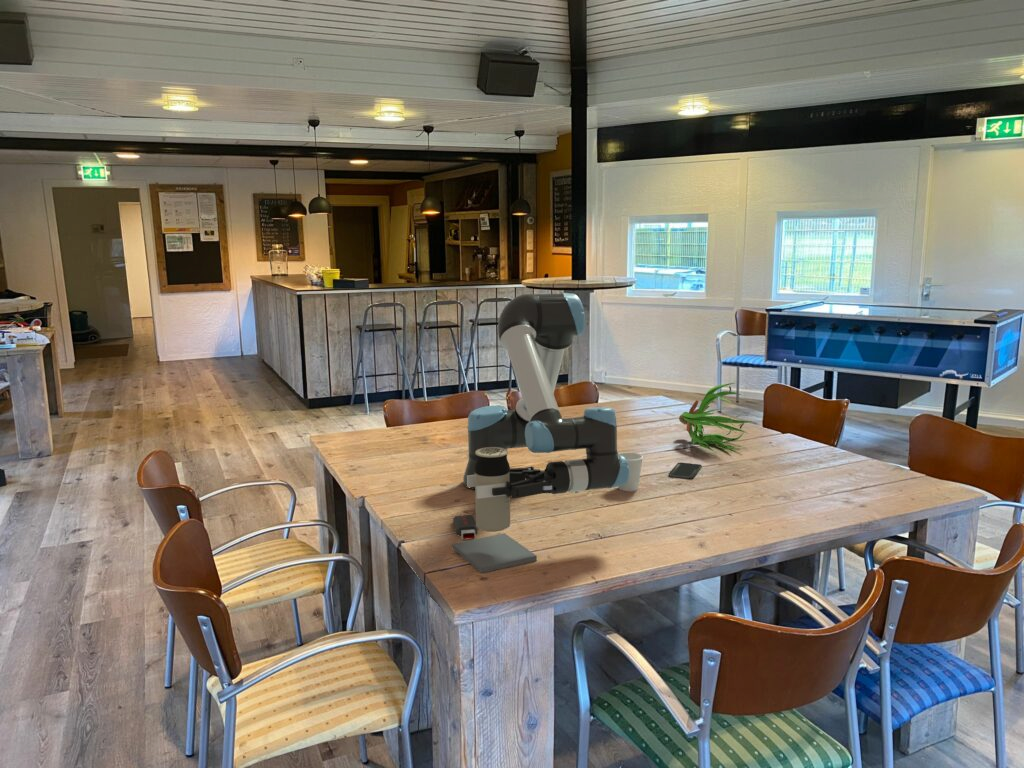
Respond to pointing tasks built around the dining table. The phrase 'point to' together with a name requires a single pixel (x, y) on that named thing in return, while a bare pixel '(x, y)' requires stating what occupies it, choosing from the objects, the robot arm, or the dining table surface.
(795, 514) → the dining table surface
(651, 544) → the dining table surface
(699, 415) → the decorative plant
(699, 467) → the phone
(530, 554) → the charcoal mat
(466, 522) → the usb drive
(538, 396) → the robot arm
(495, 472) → the travel mug
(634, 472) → the dixie cup
